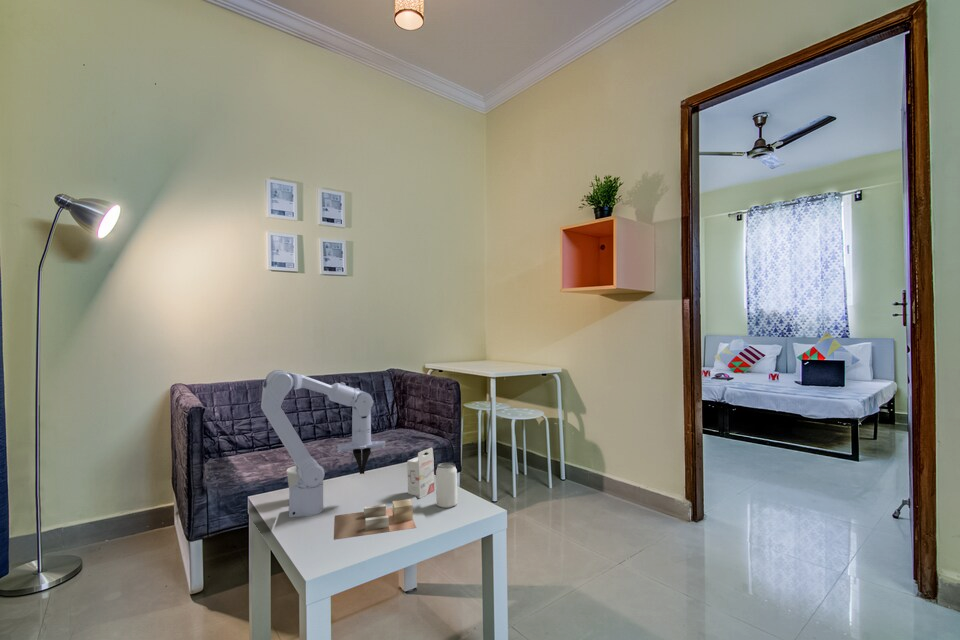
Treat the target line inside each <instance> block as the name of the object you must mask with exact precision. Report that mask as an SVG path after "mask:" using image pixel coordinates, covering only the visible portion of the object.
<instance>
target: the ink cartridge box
mask: <svg viewBox="0 0 960 640" xmlns="http://www.w3.org/2000/svg"><path fill="white" fill-rule="evenodd" d="M425 453H426V454H425ZM434 458H435V457H434V448H433V447H432V446H431V447H429V448H427V449H424V450H422V451H419V452H417V456H416V457H413V458H411V459H408V460H406V461H407V462H406V465H407V467H406V468H407V493H408V495H412V496H415V498H416V499H421V498H423V497H425V496H427V495H430V494H431V493H432V492H434V491H435V466H434V465H435V463H434V462H435V460H434Z"/></svg>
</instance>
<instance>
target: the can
mask: <svg viewBox="0 0 960 640" xmlns="http://www.w3.org/2000/svg"><path fill="white" fill-rule="evenodd" d="M435 488H436V489H435V493H436V496H435V497H436V499H435V500H436V506H438V507H439V508H441V507H442V508H443V509H448V508H449V507H451V508H454V507H455V506H456V505H458V470H457V468H456V464H455V463H453V462H442V463H438V464H437V468H436V470H435ZM453 506H454V507H453Z"/></svg>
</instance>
